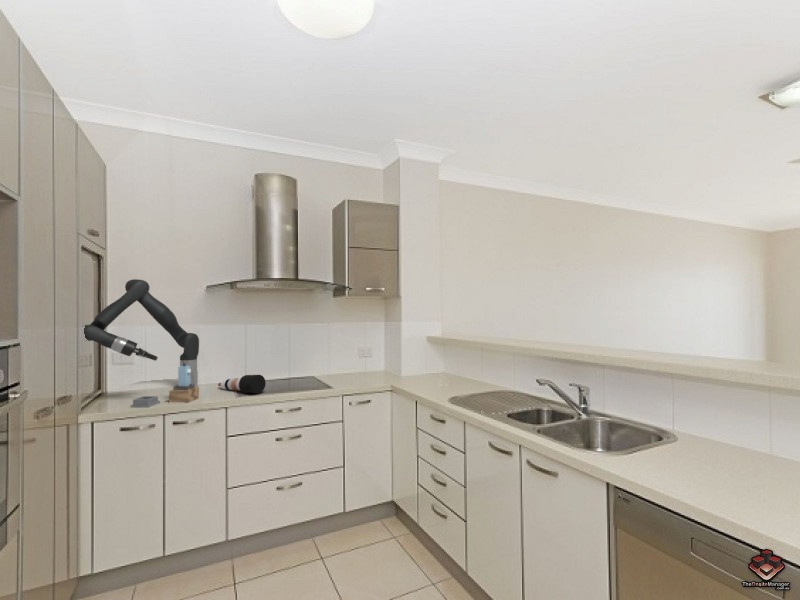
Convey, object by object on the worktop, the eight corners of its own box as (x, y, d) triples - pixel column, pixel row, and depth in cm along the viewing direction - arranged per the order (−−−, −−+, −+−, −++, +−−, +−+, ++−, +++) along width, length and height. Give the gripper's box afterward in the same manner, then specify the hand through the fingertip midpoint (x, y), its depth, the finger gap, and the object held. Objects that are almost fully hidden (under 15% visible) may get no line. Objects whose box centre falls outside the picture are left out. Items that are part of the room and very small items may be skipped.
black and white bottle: (223, 395, 243) (229, 379, 248) (262, 395, 226) (267, 377, 231) (209, 390, 235) (215, 373, 240) (248, 389, 219) (254, 372, 223)
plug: (182, 388, 214) (182, 359, 214) (191, 388, 214) (191, 359, 214) (178, 389, 210) (178, 360, 210) (187, 389, 210) (187, 360, 210)
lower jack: (143, 402, 207) (143, 395, 207) (160, 402, 206) (160, 395, 207) (130, 407, 198) (130, 400, 198) (148, 407, 198) (148, 400, 198)
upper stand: (180, 398, 217) (180, 383, 217) (198, 398, 216) (198, 383, 216) (169, 402, 207) (169, 387, 207) (188, 402, 206) (188, 387, 206)
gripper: (126, 338, 203) (159, 351, 208) (129, 340, 215) (161, 353, 221) (117, 352, 200) (151, 365, 206) (121, 353, 212) (153, 365, 218)
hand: (156, 358), depth 213 cm, fingers open, 8 cm apart
